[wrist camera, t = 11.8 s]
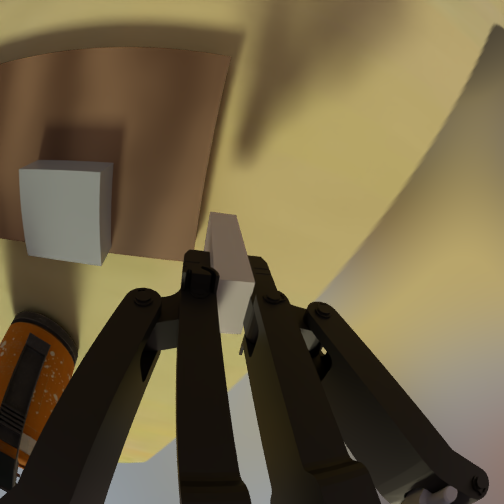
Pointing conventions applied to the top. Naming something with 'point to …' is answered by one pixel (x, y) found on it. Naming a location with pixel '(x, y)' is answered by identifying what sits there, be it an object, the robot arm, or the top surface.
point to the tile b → (67, 209)
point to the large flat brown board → (117, 135)
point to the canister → (30, 386)
